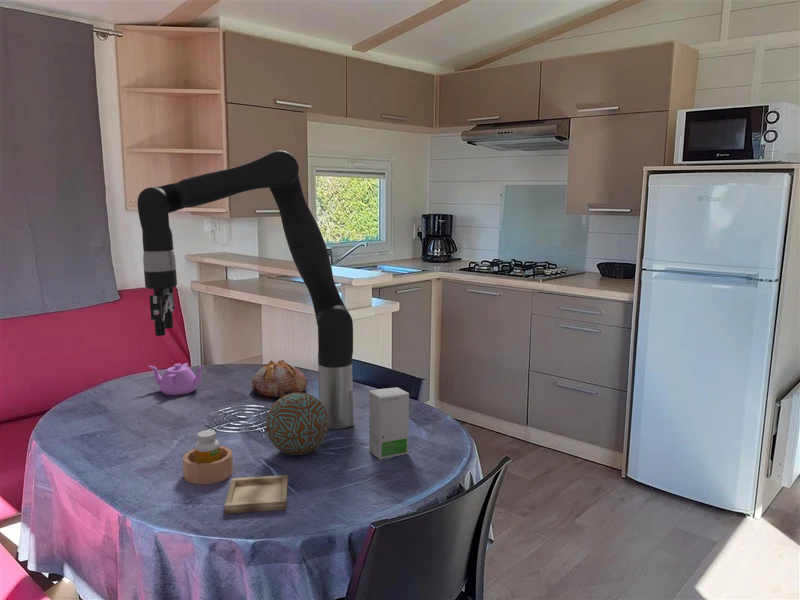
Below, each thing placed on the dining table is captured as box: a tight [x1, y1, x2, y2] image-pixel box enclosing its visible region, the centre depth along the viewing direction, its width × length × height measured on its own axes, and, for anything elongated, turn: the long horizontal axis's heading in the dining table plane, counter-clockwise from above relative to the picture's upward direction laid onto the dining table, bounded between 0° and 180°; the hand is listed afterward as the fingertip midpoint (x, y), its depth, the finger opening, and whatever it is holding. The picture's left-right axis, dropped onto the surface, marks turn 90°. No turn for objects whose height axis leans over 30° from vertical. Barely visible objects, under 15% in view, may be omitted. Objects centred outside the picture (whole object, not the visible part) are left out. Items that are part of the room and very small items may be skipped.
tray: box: [224, 474, 289, 515], centre depth 131 cm, size 12×12×2 cm
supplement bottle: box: [194, 429, 221, 463], centre depth 142 cm, size 5×5×10 cm
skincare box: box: [368, 387, 410, 460], centre depth 153 cm, size 8×7×16 cm
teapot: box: [148, 362, 205, 396], centre depth 200 cm, size 12×14×9 cm
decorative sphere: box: [265, 392, 329, 456], centre depth 153 cm, size 15×15×15 cm
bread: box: [251, 359, 308, 399], centre depth 201 cm, size 16×20×10 cm
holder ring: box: [182, 445, 234, 485], centre depth 142 cm, size 10×10×4 cm
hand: (164, 331), depth 159 cm, fingers open, 8 cm apart
